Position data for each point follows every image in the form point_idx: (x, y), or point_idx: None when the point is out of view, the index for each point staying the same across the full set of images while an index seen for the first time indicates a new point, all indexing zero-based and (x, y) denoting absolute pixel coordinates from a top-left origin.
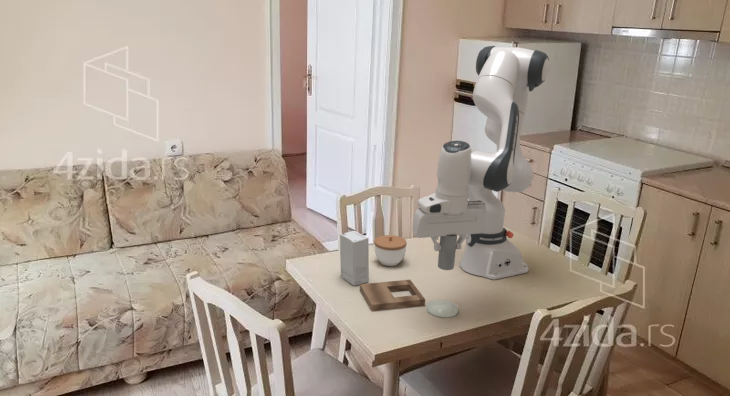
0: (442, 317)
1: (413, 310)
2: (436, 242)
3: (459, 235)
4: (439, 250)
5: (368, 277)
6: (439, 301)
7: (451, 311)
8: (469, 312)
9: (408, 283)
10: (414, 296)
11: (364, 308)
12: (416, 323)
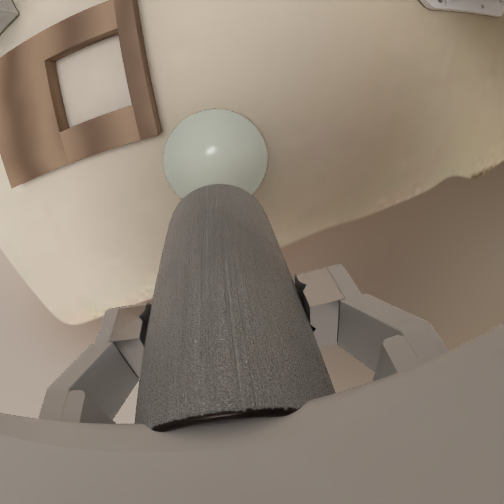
0: None
1: (123, 164)
2: (114, 406)
3: (379, 370)
4: None
5: (9, 13)
6: (213, 120)
7: (239, 187)
8: (297, 175)
9: (117, 22)
10: (122, 118)
11: None
12: (129, 235)
